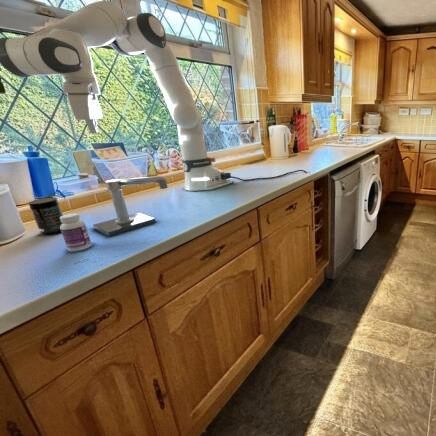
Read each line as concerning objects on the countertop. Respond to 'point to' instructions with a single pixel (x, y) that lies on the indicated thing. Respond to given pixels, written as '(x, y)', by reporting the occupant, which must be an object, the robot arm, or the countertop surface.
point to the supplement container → (47, 215)
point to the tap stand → (122, 217)
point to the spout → (135, 182)
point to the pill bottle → (74, 232)
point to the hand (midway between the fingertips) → (94, 133)
